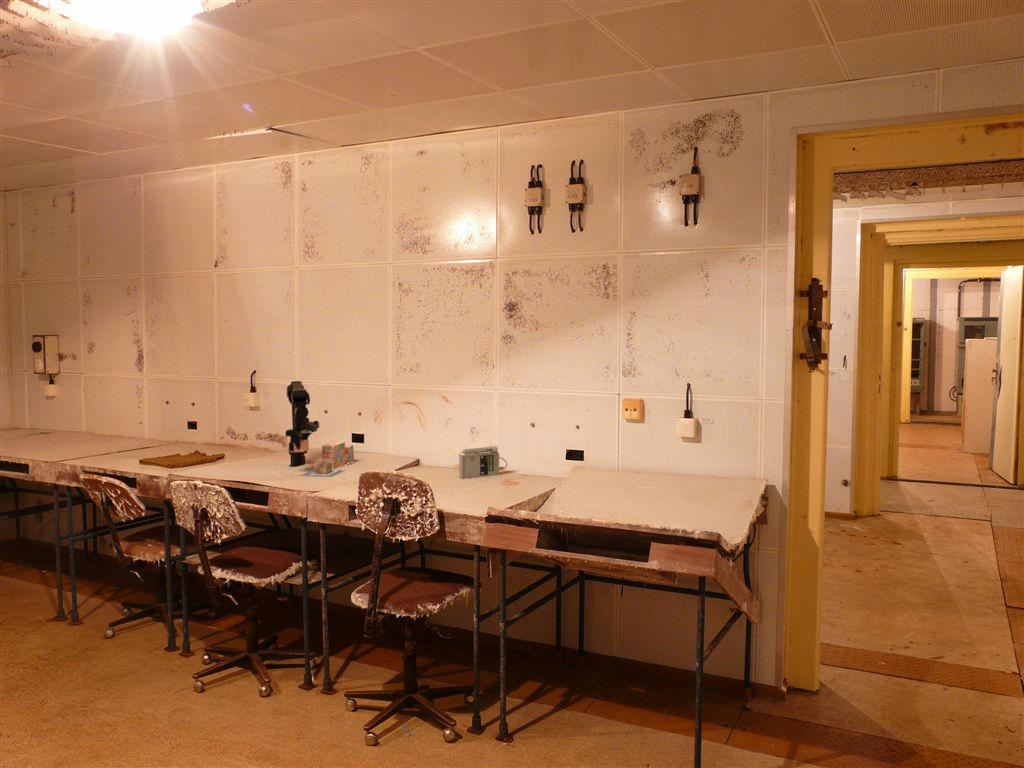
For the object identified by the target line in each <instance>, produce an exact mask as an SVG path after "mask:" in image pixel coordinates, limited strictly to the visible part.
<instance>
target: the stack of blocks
mask: <svg viewBox="0 0 1024 768" xmlns="http://www.w3.org/2000/svg"><path fill="white" fill-rule="evenodd" d="M321 451H322V452H321V456H322V457H321V459H322V461H324V462H332V470H336V469H337V468H340V466H341V467H343V466H345V464H347V463H351V462H353V461H354V462H355V456H354V455H355V453H354V445H353V444H346V442H345V441H332V442H330V443H326V444H324V445H322V446H321ZM351 464H352V463H351ZM335 468H336V469H335Z"/></svg>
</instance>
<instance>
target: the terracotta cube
mask: <svg viewBox="0 0 1024 768" xmlns="http://www.w3.org/2000/svg"><path fill="white" fill-rule="evenodd" d="M309 443H310V442H309V439H308V440H301V442H300V449H299V450H298V449H297V448H296V446H295V444H294V451H296V452H304V451H307V452H308V451H309V450H310V449H309V448H310V447H309ZM294 451H293V452H294Z"/></svg>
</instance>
